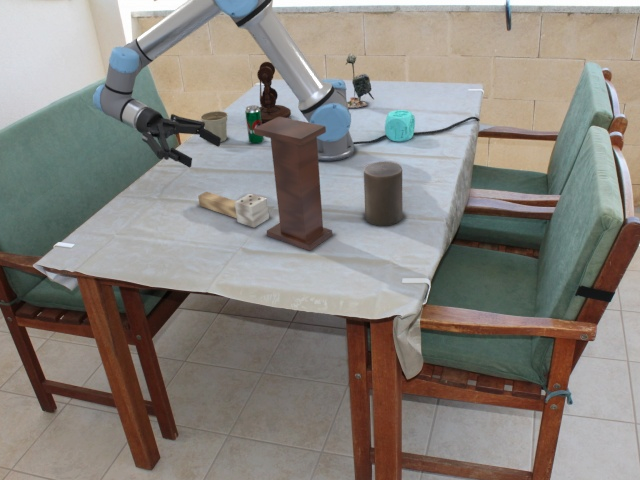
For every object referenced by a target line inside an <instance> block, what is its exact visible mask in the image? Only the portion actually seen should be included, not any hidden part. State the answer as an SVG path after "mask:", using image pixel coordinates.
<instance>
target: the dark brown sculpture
mask: <svg viewBox="0 0 640 480" xmlns="http://www.w3.org/2000/svg"><path fill="white" fill-rule="evenodd" d="M275 73H276V68H275V67H274V66H273V64H272V63H271V62H270V61H264V62H262V63H261V64H260V65H259V69H258V70H257V74H256V75H257V79H258V81H259V103H260V106H259V109H260V111H261V120H262V123H266V122H268V121H271V120H273V119H275V118H277V117H284V118H290V116H291V115H292V110H291V108H289V107H287V106H285V105H281V104H277V99H278V95H279V94H278V92H277V90H276V89H275V88H273V87H272V84H273V82H272V81H273V79H274V75H275ZM262 85H263V91H262Z"/></svg>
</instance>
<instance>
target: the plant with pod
mask: <svg viewBox="0 0 640 480" xmlns="http://www.w3.org/2000/svg"><path fill="white" fill-rule="evenodd" d="M345 61H346V62H345V65H346V66H347V65H348V64H351V67H352V81H351V82H352V85H353V92H354V94H353V95H354V96H353V97H350V100H349V101H347V104H348V109H350V108H356V109H358V108H362V107H367V106H368V104H367V101H365V100H361V99H362V98H361V97H363V96H364V95H369V97H370V98H371V99H372V100H375V97H374V96H373V95H372V94H371V91H372V84H371V79H370V77H369V76H370V75H368V74H367V73H361V74H357V75H356V76H355V65H354V64H356V61H357V55H356V54H353V53H352V52H351V53H348V55H347V58H346V60H345ZM356 96H357V97H356Z"/></svg>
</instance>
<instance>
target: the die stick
mask: <svg viewBox="0 0 640 480" xmlns="http://www.w3.org/2000/svg"><path fill="white" fill-rule="evenodd" d="M197 197H198V202H199V203H198V204H199V207H201V208H204V209H207V210H210V211H214V212H217V213H220V214H223V215H226V216H229V217H232V218H233V219H236V221H237V223H238V224H242V225H244V226H247V227H251V228H253V229H254V228H257V227H258V226H260V225H261V224H263V223H264V222H266V221H268V220H269V219H270V215H269V213H270V212H269V206H268V197H263V196H260V195H257V194H254V193H248V194H246V195H244V196H243V197H241V198H239V199H237V200H235V199H231V198H228V197H225V196H222V195H218V194H216V193H212V192H209V191H204V192H203V193H201V194H199V195H198V196H197Z"/></svg>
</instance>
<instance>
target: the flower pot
mask: <svg viewBox="0 0 640 480" xmlns="http://www.w3.org/2000/svg"><path fill="white" fill-rule="evenodd" d="M228 117H229V113H228V112H226V111H223V110H222V111H221V110H215V111H208V112H205V113H203V114H202V115H200V117H199V119H200V120H201V122H204V123H205V127H204V128H205V129H206V130H208V131H210V132H212V133H213V134H215V135H216V136H218V137H220V138H221V141H220V143H223V142H225V141H226V140H227V139H228V135H227V134H228V132H227V131H228V130H227V129H228V125H227V124H228V123H227V121H228Z"/></svg>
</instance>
